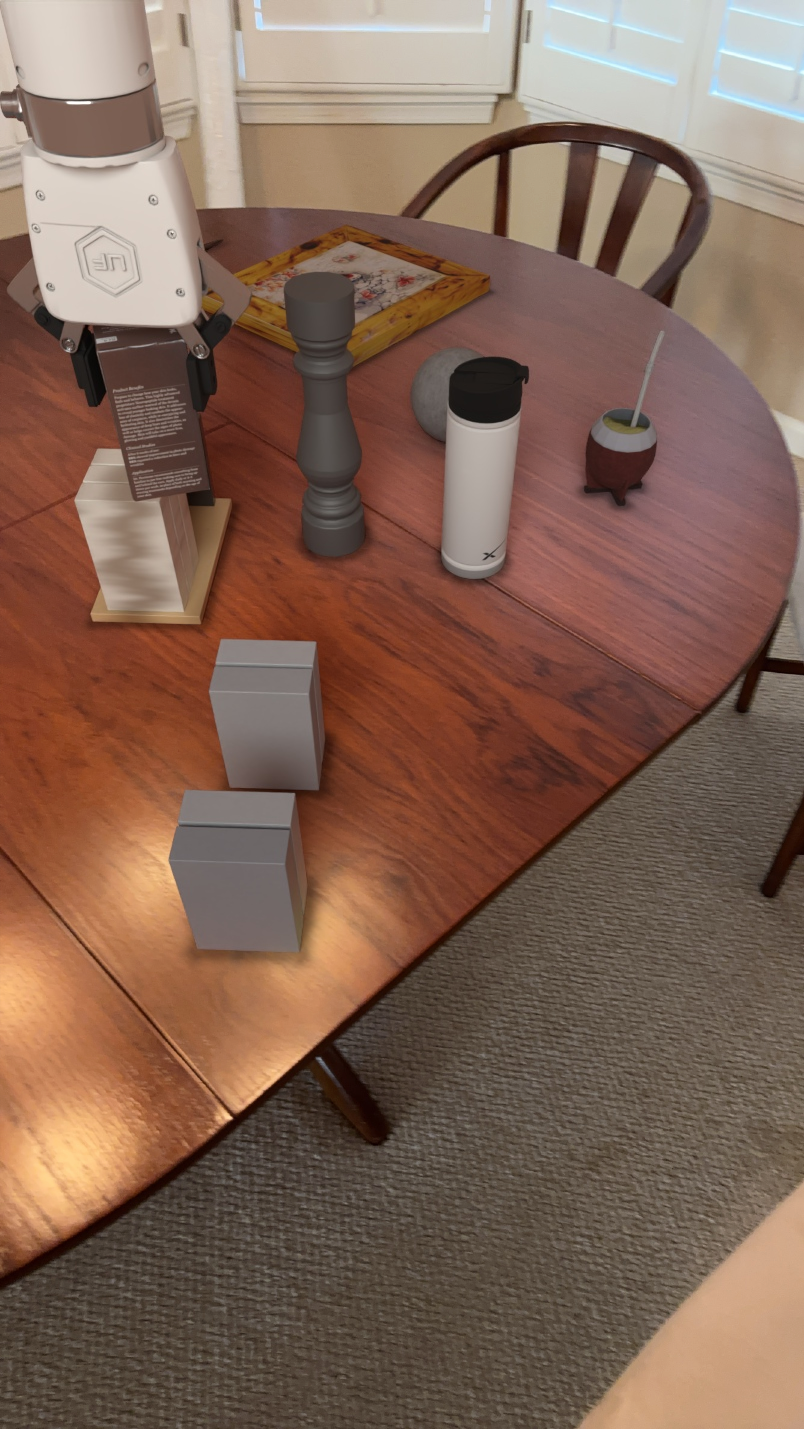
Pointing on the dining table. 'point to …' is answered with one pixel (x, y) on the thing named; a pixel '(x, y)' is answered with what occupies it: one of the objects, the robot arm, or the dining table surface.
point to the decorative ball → (436, 388)
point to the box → (152, 409)
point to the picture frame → (359, 288)
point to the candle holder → (326, 411)
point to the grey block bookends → (253, 800)
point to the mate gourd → (622, 445)
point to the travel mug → (480, 464)
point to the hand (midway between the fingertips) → (151, 397)
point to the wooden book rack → (150, 545)
